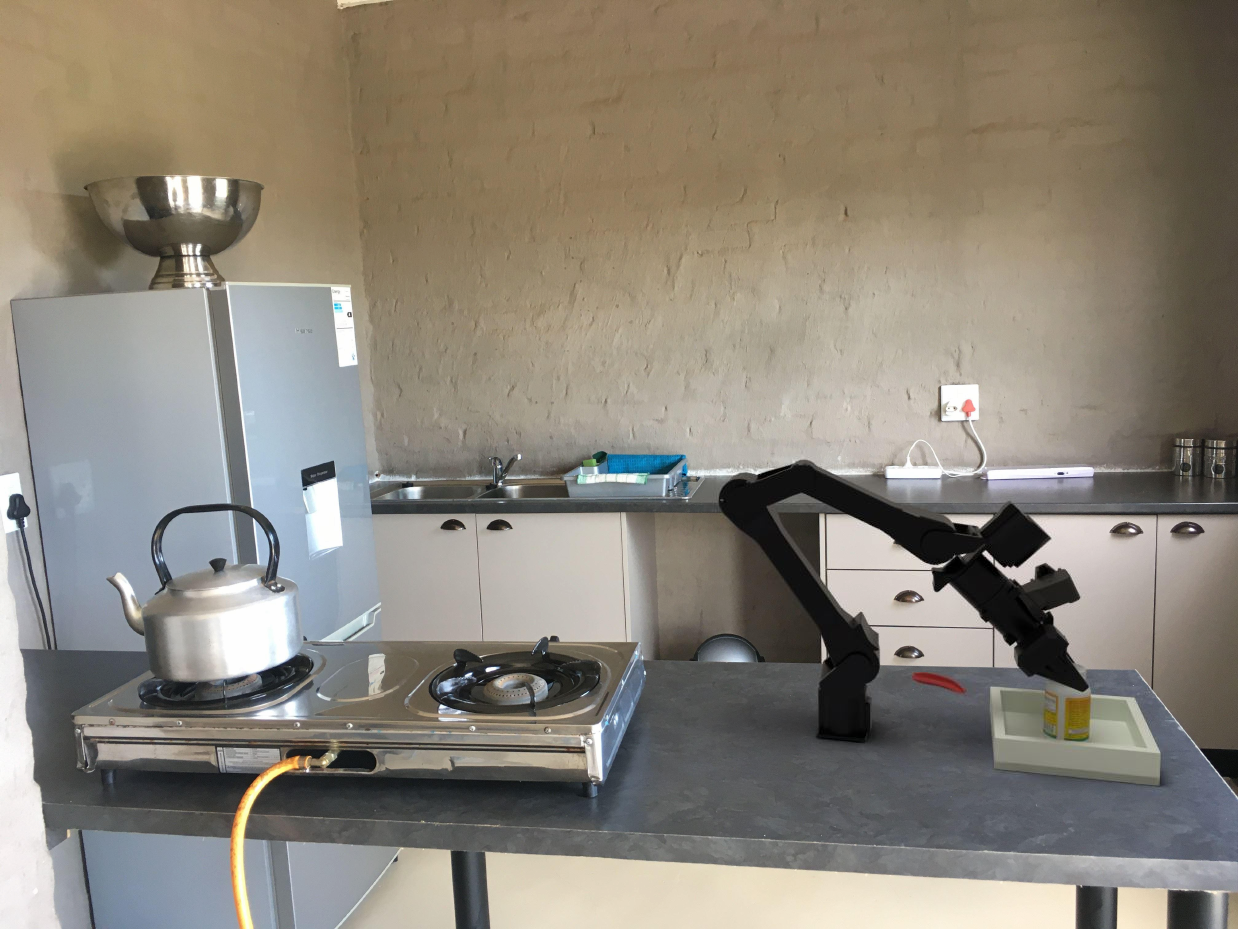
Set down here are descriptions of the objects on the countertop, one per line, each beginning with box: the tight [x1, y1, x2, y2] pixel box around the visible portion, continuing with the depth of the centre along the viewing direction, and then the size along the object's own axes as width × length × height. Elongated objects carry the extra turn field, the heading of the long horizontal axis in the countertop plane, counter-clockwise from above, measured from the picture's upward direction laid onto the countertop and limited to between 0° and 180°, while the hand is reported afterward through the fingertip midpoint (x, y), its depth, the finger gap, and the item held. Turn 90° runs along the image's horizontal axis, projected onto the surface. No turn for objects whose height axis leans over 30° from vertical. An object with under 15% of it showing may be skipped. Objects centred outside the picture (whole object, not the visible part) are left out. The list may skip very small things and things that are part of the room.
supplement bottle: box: [1043, 662, 1092, 742], centre depth 125 cm, size 5×5×10 cm
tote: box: [989, 685, 1162, 787], centre depth 126 cm, size 18×18×4 cm
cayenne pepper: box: [910, 671, 967, 695], centre depth 149 cm, size 12×5×2 cm, turn 16°
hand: (1080, 679), depth 124 cm, fingers open, 7 cm apart
